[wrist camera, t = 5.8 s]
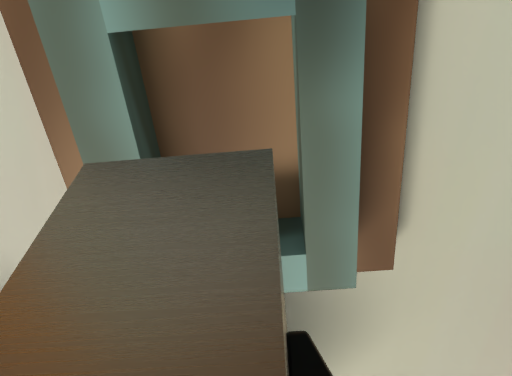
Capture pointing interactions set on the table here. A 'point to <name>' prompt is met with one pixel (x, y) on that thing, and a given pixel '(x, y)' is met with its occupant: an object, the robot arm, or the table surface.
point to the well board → (240, 104)
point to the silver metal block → (153, 274)
